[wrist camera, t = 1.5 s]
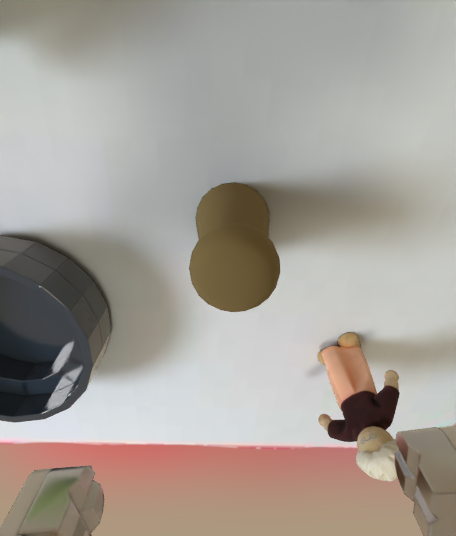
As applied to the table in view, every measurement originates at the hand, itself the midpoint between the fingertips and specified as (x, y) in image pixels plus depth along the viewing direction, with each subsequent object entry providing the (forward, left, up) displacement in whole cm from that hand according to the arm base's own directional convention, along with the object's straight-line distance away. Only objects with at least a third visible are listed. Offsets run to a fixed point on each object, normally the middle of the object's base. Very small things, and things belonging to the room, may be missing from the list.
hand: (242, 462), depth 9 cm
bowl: (+6, -20, -21) cm, 30 cm away
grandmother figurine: (+15, +8, -22) cm, 27 cm away
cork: (0, 0, -22) cm, 22 cm away
